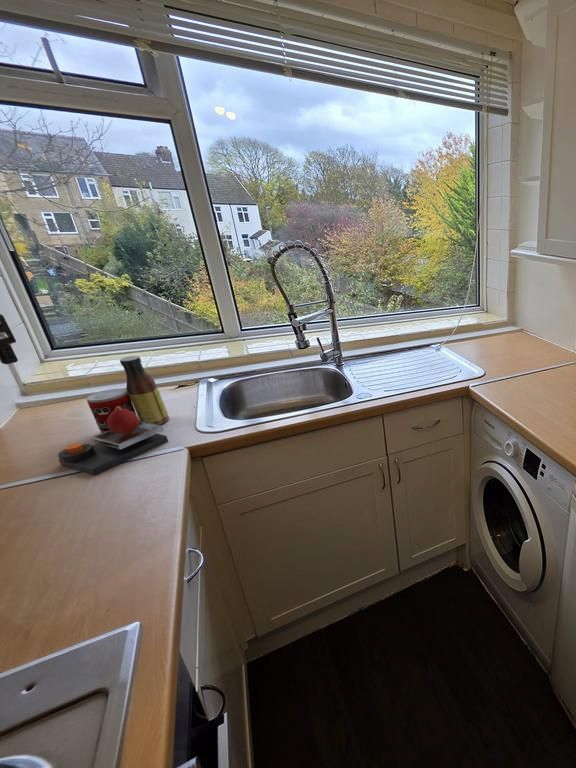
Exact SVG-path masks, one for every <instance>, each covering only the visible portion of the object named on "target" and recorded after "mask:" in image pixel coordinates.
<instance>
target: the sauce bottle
mask: <svg viewBox="0 0 576 768" xmlns="http://www.w3.org/2000/svg"><path fill="white" fill-rule="evenodd" d="M140 357H141V356H139V355H129V356H126V357H122V358H120V359H119V362H120V365H121V366H122V367H123V369H124V372H125V376H126V388H125V389H126V390H127V392H128V395H129V397H130V399H131V402H132V404H133V407H134V409H135V412H136V415H137V416H138V418H139V420H140V421H145V422H149V423H153V424H158V425H163V424H165V423H167V422H169V419H170V417H169V413H168V411H167V407H166V405H165V403H164V400H163V398H162V395H161V393H160V390H159V388H158V386H157V384H156V382H155V380H154V378H153V377H152V376H151V375H150V374H148V373H147V372H146V371H145V369H144V367H143V364H142V359H141V358H140Z"/></svg>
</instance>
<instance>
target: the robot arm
mask: <svg viewBox="0 0 576 768" xmlns="http://www.w3.org/2000/svg"><path fill="white" fill-rule="evenodd" d="M5 318H6V317H5V316H4V315H3V314H1V313H0V363H1V364H3V365H10V364H14V363H17V362H18V361H19V359H18V357H17V355H16V353H15V351H14V349H13V346H12V345H13V344H16V343H17V339H16V338H15V336H14V334H13V332H12V330H11V328H10V326H9V325H8V322H7V321H6V319H5Z"/></svg>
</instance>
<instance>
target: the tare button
mask: <svg viewBox="0 0 576 768" xmlns="http://www.w3.org/2000/svg"><path fill="white" fill-rule="evenodd" d="M82 444H83V443H81V442H76V443H71V444H69V445H67V446H65V448H64V449H66V451H67V453H68V454H74V453H78V452H80V451H83V450H84V447H83V445H82Z"/></svg>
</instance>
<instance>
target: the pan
mask: <svg viewBox="0 0 576 768" xmlns="http://www.w3.org/2000/svg"><path fill="white" fill-rule="evenodd" d="M163 431H165V428H164V426H163V424H160V425H158V424H153V423H149V422H145V421H140V420H139V425H138V427H137V428H136V429H135V430H134V431H133V433H132V434H131V435H123V434H118V433H115V432H113V431H111V430H108V431H106V432H103V433H101V432H100V433H98V434H96V435H93V436H91V437H90V438H89V439H90V441H91V444H92V443H93V444H100V445H104V446H108V447H111V448H115V449H119V450H120V449H123V448H125V447H127V446H130V445H132V444H134V443H136V442H139V441H141V440H143V439H145V438H148V437H150V436H152V435H155V434H160V433H161V432H163Z"/></svg>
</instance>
